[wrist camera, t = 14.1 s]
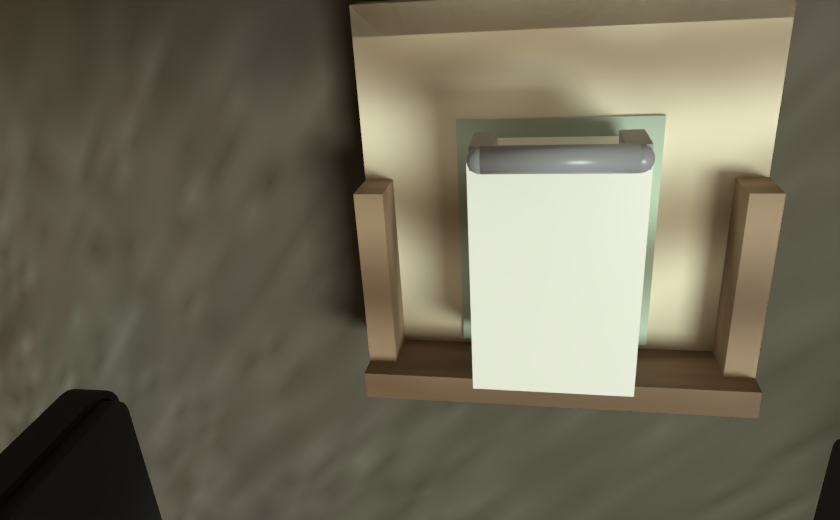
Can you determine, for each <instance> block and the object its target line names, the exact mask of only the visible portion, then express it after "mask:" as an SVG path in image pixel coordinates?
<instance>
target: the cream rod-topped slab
mask: <svg viewBox="0 0 840 520" xmlns="http://www.w3.org/2000/svg"><path fill="white" fill-rule="evenodd" d="M653 145H654V144H653V142H652V140H651V139H650V137H649V135H648V134H647V132H646V130H645V129H631V130H620V131H619V136H587V137H525V138H498V132H474V135H473V137H472V139H471V141H470V144H469V146H468V155H467V158H466V174H467V207H468V240H469V273H470V306H471V338H472V371H473V389H493V390H512V391H531V392H550V393H569V394H588V395H607V396H626V397H634V389H635V377H636V365H637V353H638V341H639V329H640V318H641V306H642V294H643V282H644V270H645V258H646V246H647V234H648V222H649V210H650V198H651V187H652V175H653V164H654V162H655V154H654V151H653Z"/></svg>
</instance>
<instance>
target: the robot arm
mask: <svg viewBox="0 0 840 520" xmlns="http://www.w3.org/2000/svg"><path fill="white" fill-rule="evenodd" d="M0 520H162V518H161V515H160V512H159V508H158V505H157V502H156V499H155V495H154V492H153V489H152V485H151V482H150V479H149V476H148V472H147V469H146V466H145V462H144V459H143V456H142V453H141V449H140V446H139V443H138V439H137V436H136V433H135V430H134V426H133V423H132V420H131V416H130V413H129V410H128V408H127V406H126V405H125V404H124V403H123V402H119V399H118V397H117V396H116V395H115V394H114V393H113V392H110V391H104V390H83V389H72V390H68V391H66V392H65V393H63V394H62V395H61V396H60V397H59V398H58V399H57V400H56V401H55V402H54V403H52V404H51V405H50V406H49V407H48V408H47V409H46V410H45V411H44V412H43V413H42V414H41V415H40V416H39V417H38V418H37V419H36V420H35V421H34V422H33V423H32V424H31V425H30V426H29V427H28V428H27V429H26V430H24V431H23V432H22V433H21V434H20V435H19V436H18V437H17V438H16V439H15V440H14V441H13V442H12V443H11V444H10V445H9V446H8V447H7V448H6V449H5V450H4V451H3V452H2V453H1V454H0ZM814 520H840V439H839V440H837V441H836V442H835V443H834V445H833V448H832V451H831V455H830V459H829V463H828V467H827V471H826V474H825V478H824V482H823V486H822V490H821V493H820V497H819V501H818V505H817V509H816V513H815V516H814Z"/></svg>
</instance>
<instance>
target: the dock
mask: <svg viewBox="0 0 840 520" xmlns="http://www.w3.org/2000/svg"><path fill="white" fill-rule="evenodd" d="M795 7H796V0H388V1H370V2H362V3H357V4H352V5H349V9H350V19H351V30H352V40H353V51H354V62H355V72H356V83H357V94H358V104H359V115H360V126H361V136H362V147H363V157H364V168H365V179H366V180H365V181H364V182H363V184H362V185H361V186H360V187H359V188H358V189H357V191H356V192H355V193H354V194H353V196H354V206H355V216H356V226H357V235H358V245H359V255H360V265H361V274H362V284H363V294H364V304H365V313H366V323H367V333H368V343H369V352H370V363H369V365H368V368H367V370H366V372H365V380H366V389H367V397H384V398H402V399H420V400H438V401H456V402H475V403H493V404H511V405H529V406H547V407H565V408H583V409H602V410H620V411H638V412H656V413H674V414H692V415H710V416H729V417H747V418H758V414H759V409H760V403H761V397H762V391H761V389H760V387H759V385H758V383H757V381H756V379H755V376H756V370H757V364H758V358H759V352H760V346H761V340H762V334H763V328H764V322H765V316H766V310H767V304H768V298H769V292H770V286H771V280H772V274H773V268H774V262H775V256H776V250H777V244H778V238H779V232H780V226H781V220H782V214H783V208H784V202H785V196H786V193H785V192H784V191H783V190H782V189H781V188H780V187H779V186H778V185H776V184H775V183H774V182H773V181H772V180H771V179H770V178H769V175H770V168H771V162H772V155H773V149H774V142H775V136H776V129H777V123H778V117H779V110H780V104H781V97H782V91H783V84H784V78H785V71H786V65H787V58H788V52H789V45H790V39H791V32H792V26H793V20H794V13H795ZM631 129H645V130H646V132H647V134H648V135H649V137H650V139H651V140H652V142H653V144H654V145H653V151H654V154H655V162H654V164H653V175H652V187H651V198H650V210H649V222H648V234H647V246H646V258H645V270H644V282H643V294H642V306H641V318H640V329H639V341H638V353H637V365H636V377H635V389H634V397H626V396H607V395H588V394H569V393H550V392H531V391H512V390H493V389H473V371H472V338H471V306H470V273H469V240H468V207H467V174H466V158H467V155H468V146H469V144H470V141H471V139H472V137H473V135H474V132H498V138H525V137H587V136H619V131H620V130H631Z"/></svg>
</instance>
